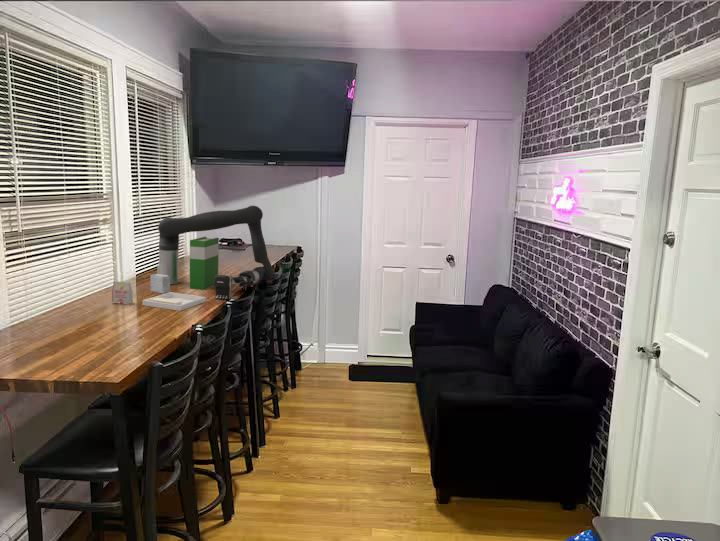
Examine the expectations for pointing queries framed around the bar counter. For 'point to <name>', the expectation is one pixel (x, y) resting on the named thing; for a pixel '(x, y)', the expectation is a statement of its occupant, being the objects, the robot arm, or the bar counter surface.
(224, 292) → the battery charger
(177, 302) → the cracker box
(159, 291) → the medicine box
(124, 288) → the tea bag
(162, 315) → the bar counter surface
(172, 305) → the tray
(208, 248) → the hardback book
